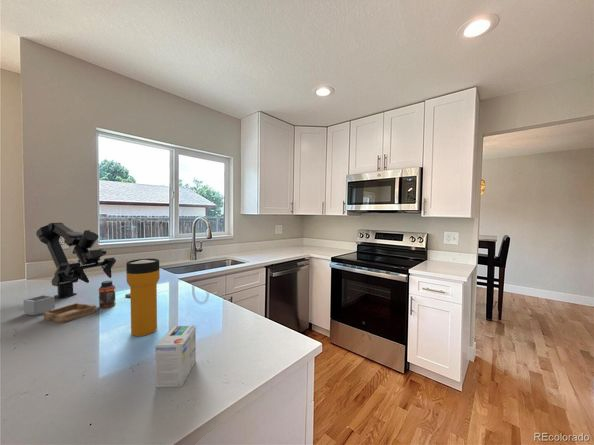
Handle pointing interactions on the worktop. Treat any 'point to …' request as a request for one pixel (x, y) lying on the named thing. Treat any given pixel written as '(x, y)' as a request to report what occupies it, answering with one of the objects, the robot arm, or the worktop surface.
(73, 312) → the tray
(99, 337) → the worktop surface
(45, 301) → the grey open square bin
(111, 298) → the supplement bottle
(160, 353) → the light bulb box
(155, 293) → the flashlight
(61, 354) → the worktop surface
